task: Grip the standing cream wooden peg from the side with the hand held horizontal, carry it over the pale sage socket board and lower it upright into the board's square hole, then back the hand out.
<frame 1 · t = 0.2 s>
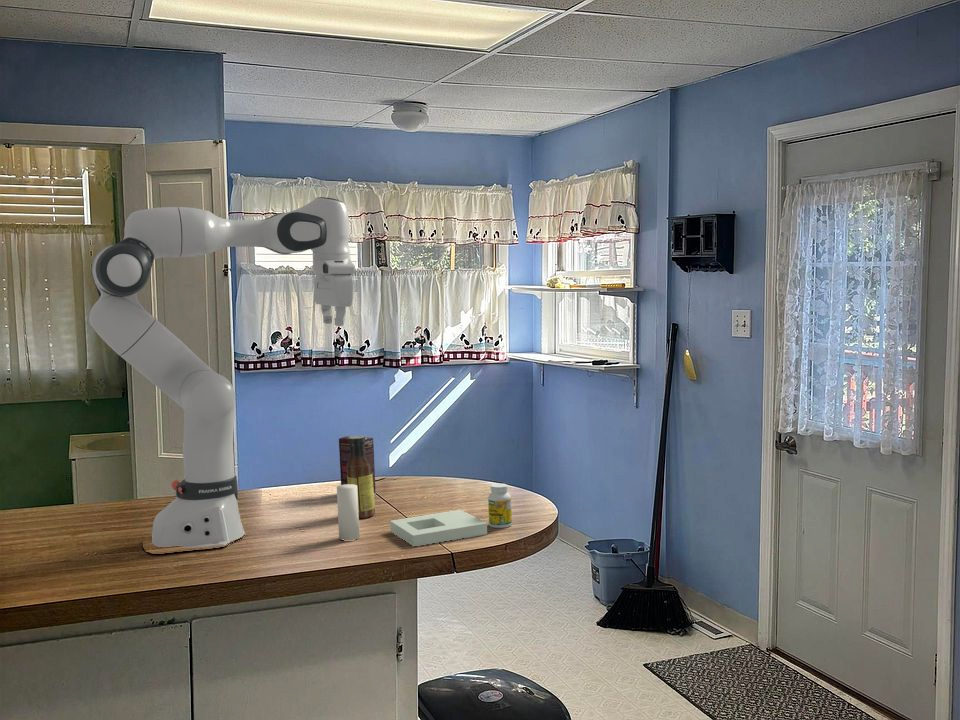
hand: (333, 324, 221), 48 cm above the counter, tool pointing down, fingers open, 8 cm apart
sauce bottle: (362, 516, 228), on the counter
peg: (349, 538, 209), on the counter
socket board: (438, 533, 211), on the counter
supplement box: (358, 496, 249), on the counter
supplement bottle: (500, 526, 216), on the counter
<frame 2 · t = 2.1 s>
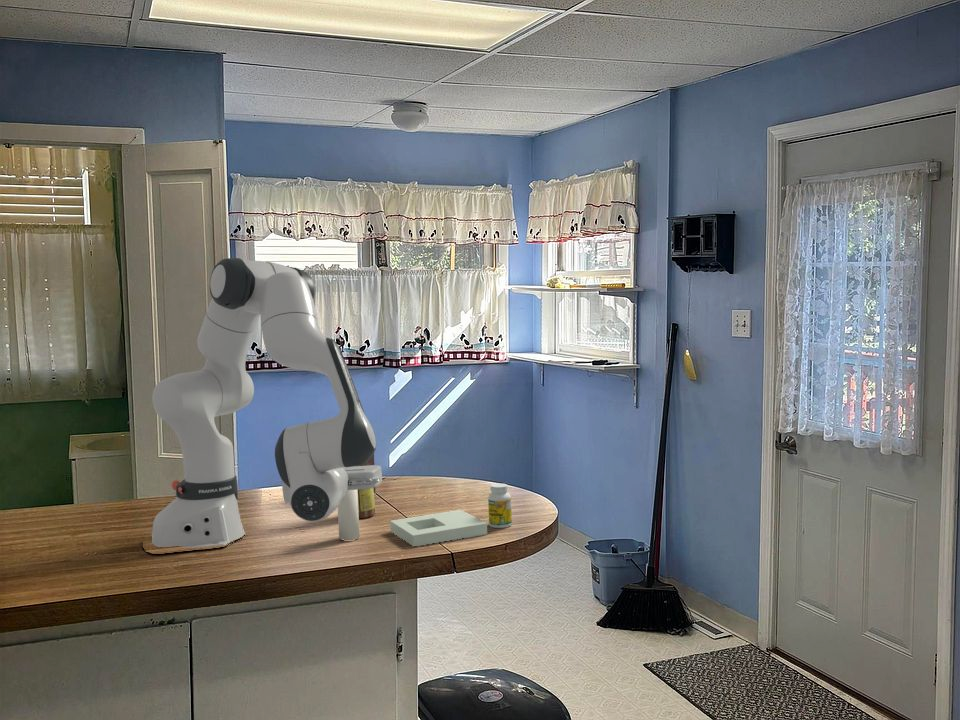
hand: (337, 471, 196), 18 cm above the counter, tool horizontal, fingers open, 8 cm apart
nothing on the counter moved.
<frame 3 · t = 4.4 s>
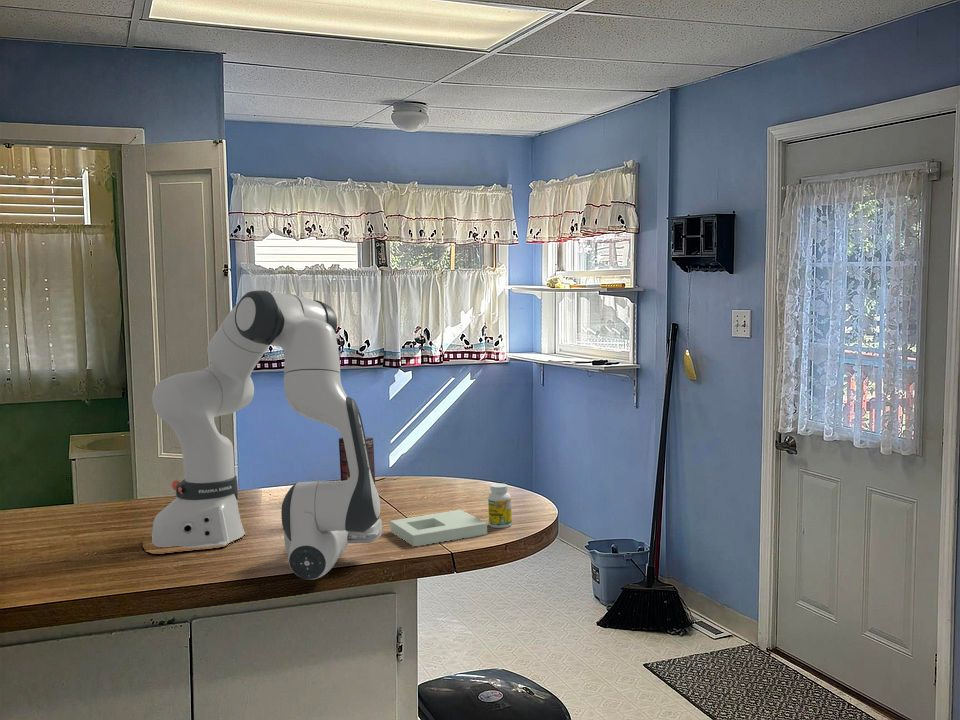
hand: (340, 519, 201), 6 cm above the counter, tool horizontal, fingers open, 8 cm apart
nothing on the counter moved.
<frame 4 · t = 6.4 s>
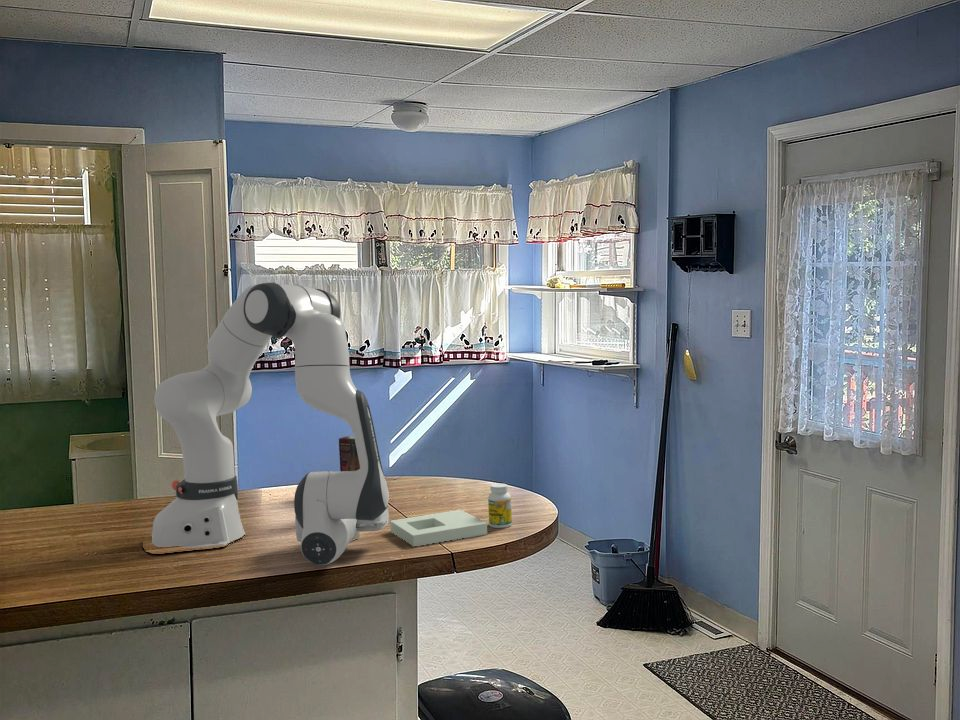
hand: (348, 509, 209), 7 cm above the counter, tool horizontal, fingers closed on peg, 5 cm apart
peg: (349, 538, 209), on the counter, touching gripper
everything else where it was.
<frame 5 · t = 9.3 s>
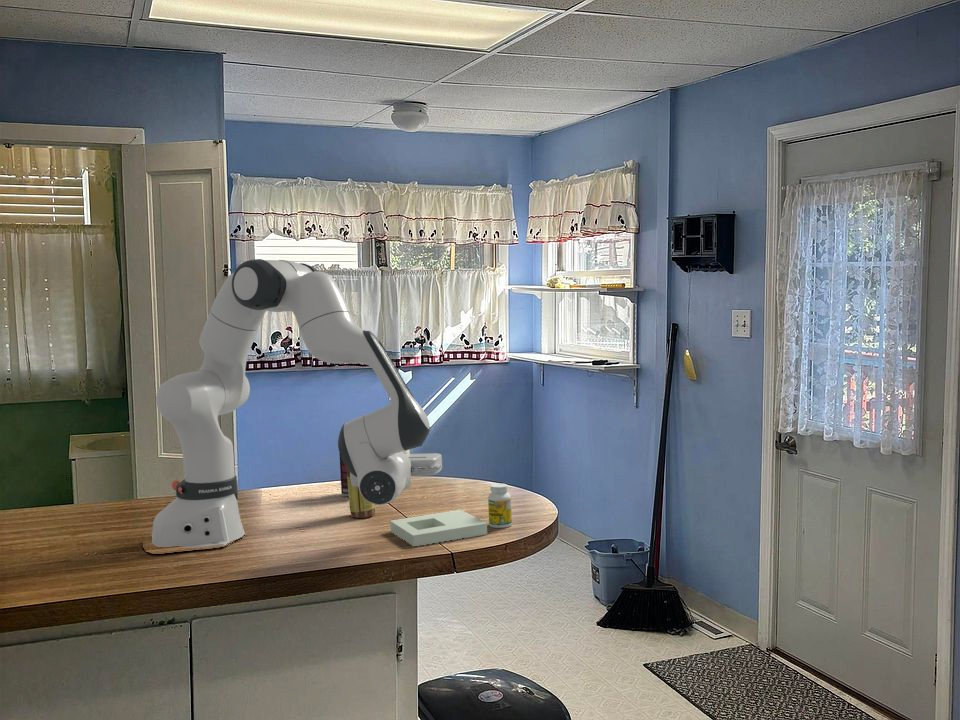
hand: (400, 457, 208), 18 cm above the counter, tool horizontal, fingers closed on peg, 5 cm apart
peg: (401, 486, 208), point 11 cm above the counter, touching gripper
everything else where it was.
when the fingers open (7 cm above the counter, at t = 12.0 s): peg stays where it is, resting in socket board.
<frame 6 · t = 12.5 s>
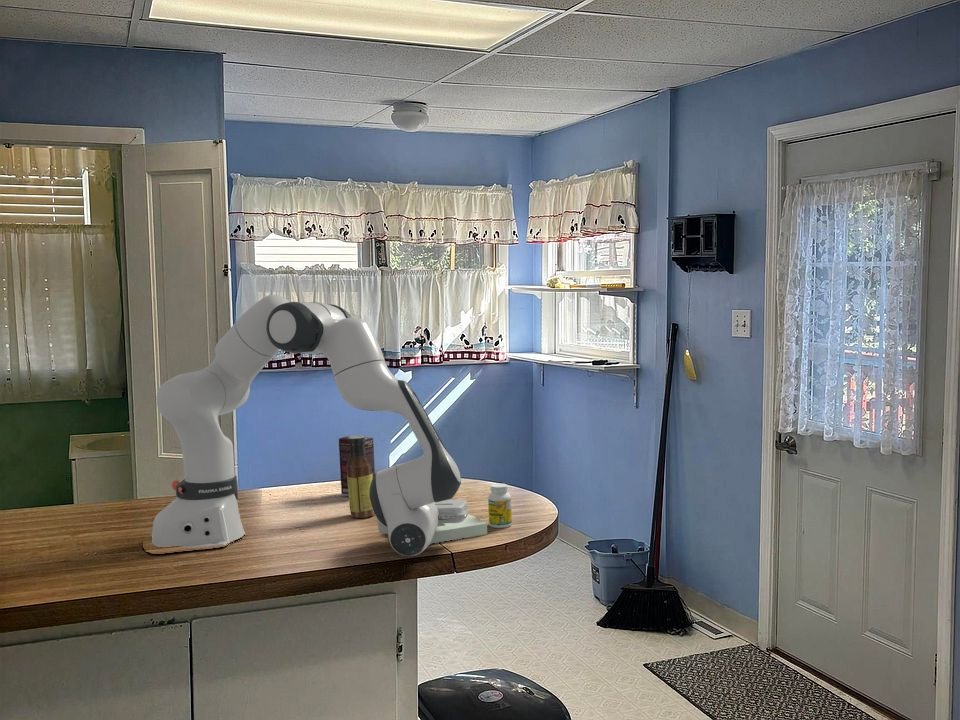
hand: (425, 501, 210), 7 cm above the counter, tool horizontal, fingers open, 8 cm apart
peg: (426, 535, 210), resting in socket board
everything else where it was.
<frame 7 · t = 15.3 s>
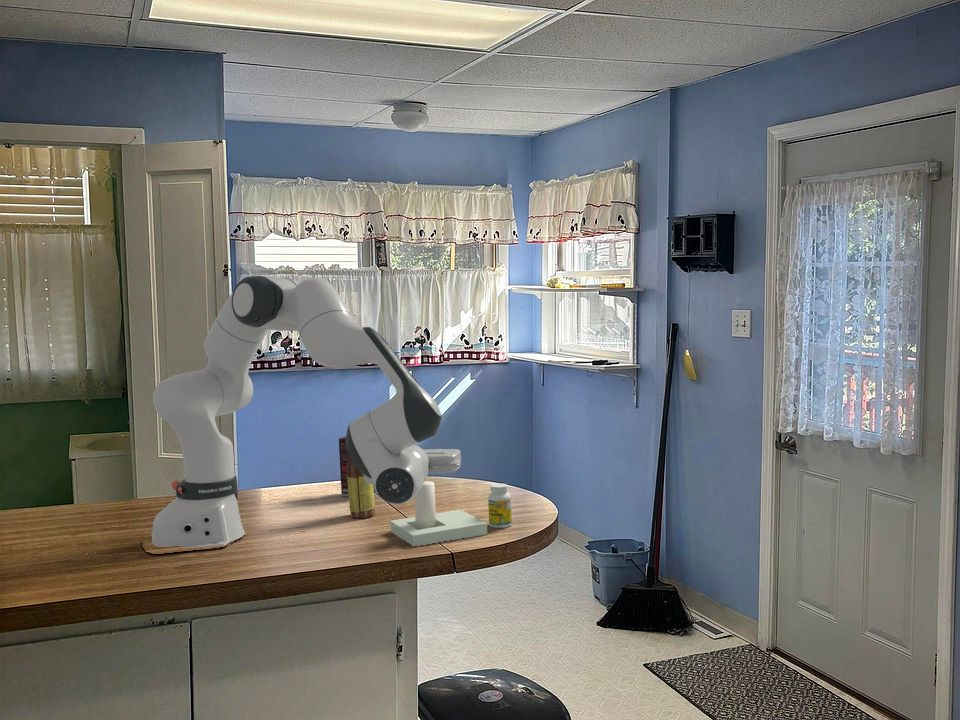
hand: (415, 452, 196), 21 cm above the counter, tool horizontal, fingers open, 8 cm apart
nothing on the counter moved.
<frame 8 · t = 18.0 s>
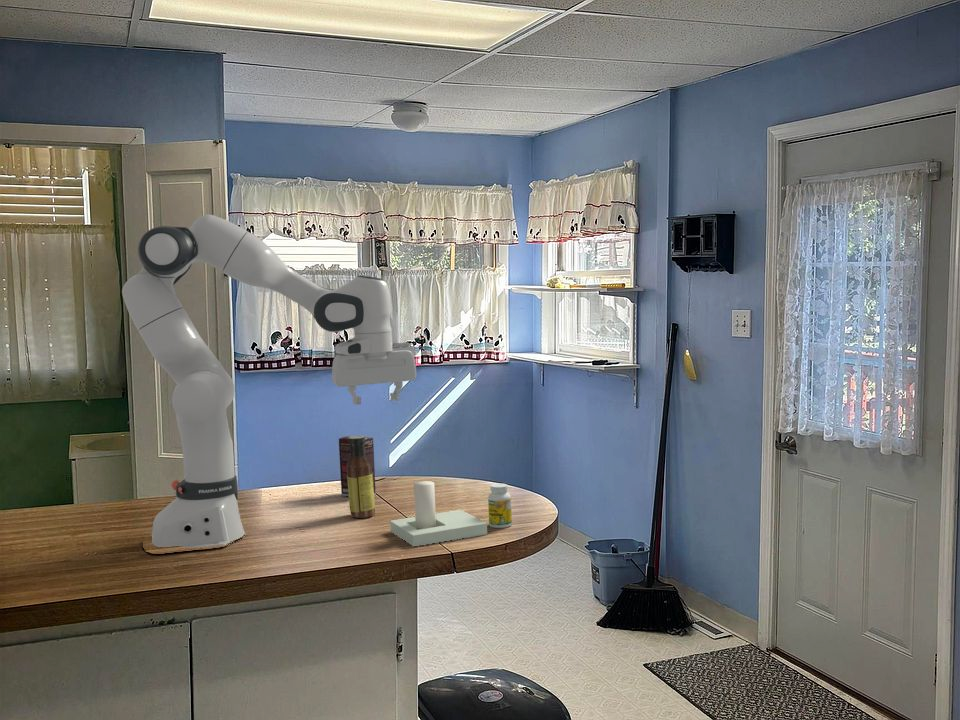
hand: (376, 402, 219), 29 cm above the counter, tool pointing down, fingers open, 8 cm apart
nothing on the counter moved.
at the end: peg 0.1 cm from the target spot, resting in socket board; peg tilted 0°; the gripper is holding nothing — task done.
